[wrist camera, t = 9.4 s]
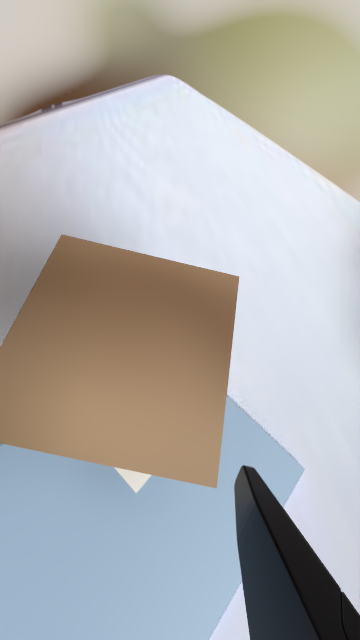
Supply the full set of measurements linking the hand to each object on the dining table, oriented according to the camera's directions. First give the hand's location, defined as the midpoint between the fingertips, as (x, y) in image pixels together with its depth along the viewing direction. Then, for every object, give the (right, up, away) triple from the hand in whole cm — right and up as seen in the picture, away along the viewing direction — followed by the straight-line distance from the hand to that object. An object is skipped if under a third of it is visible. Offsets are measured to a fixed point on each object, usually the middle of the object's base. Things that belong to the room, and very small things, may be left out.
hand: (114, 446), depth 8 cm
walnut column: (0, -1, +8) cm, 8 cm away
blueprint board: (-1, -6, +6) cm, 9 cm away
